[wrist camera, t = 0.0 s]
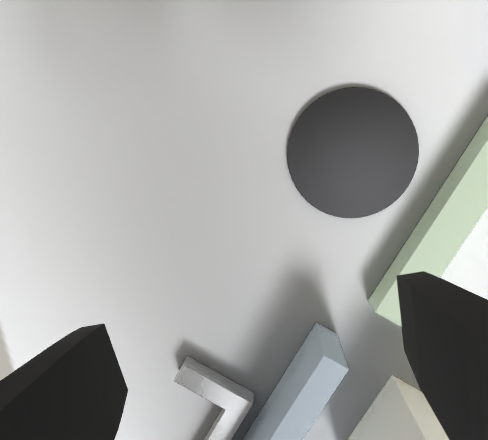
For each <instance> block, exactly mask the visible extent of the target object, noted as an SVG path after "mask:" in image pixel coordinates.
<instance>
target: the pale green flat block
mask: <svg viewBox="0 0 488 440" xmlns="http://www.w3.org/2000/svg"><path fill="white" fill-rule="evenodd" d="M487 207H488V116H487V117H486V119H485V120H484V122H483V123H482V125H481V127H480V128H479V130H478V131H477V133H476V134H475V136H474V137H473V139H472V140H471V142H470V144H469V145H468V147H467V148H466V150H465V151H464V153H463V154H462V156H461V157H460V159H459V161H458V162H457V164H456V165H455V167H454V168H453V170H452V171H451V173H450V174H449V176H448V178H447V179H446V181H445V182H444V184H443V185H442V187H441V188H440V190H439V191H438V193H437V195H436V196H435V198H434V199H433V201H432V202H431V204H430V205H429V207H428V208H427V210H426V212H425V213H424V215H423V216H422V218H421V219H420V221H419V222H418V224H417V226H416V227H415V229H414V230H413V232H412V233H411V235H410V236H409V238H408V239H407V241H406V243H405V244H404V246H403V247H402V249H401V250H400V252H399V253H398V255H397V256H396V258H395V260H394V261H393V263H392V264H391V266H390V267H389V269H388V270H387V272H386V273H385V275H384V277H383V278H382V280H381V281H380V283H379V284H378V286H377V287H376V289H375V290H374V292H373V294H372V295H371V297H370V298H369V300H368V302H369V304H370V305H371V307H372V309H373V310H374V312H375V313H377V314H379V315H381V316H382V317H384V318H386V319H388V320H390V321H391V322H393V323H395V324H397V325H398V326H400V327H402V324H401V314H400V305H399V296H398V286H397V277H396V276H397V275H403V274H409V273H415V272H421V271H424V272H427V273H430V274H432V275H434V276H437V277H439V278H440V277H441V275H442V274H443V272H444V271H445V269H446V268H447V267H448V265H449V264H450V262H451V261H452V259H453V258H454V256H455V255H456V253H457V252H458V250H459V249H460V247H461V246H462V244H463V243H464V241H465V240H466V238H467V237H468V235H469V234H470V232H471V231H472V230H473V228H474V227H475V225H476V224H477V222H478V221H479V219H480V218H481V216H482V215H483V213H484V212H485V210H486V209H487Z"/></svg>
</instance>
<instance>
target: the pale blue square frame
mask: <svg viewBox="0 0 488 440" xmlns="http://www.w3.org/2000/svg"><path fill="white" fill-rule="evenodd" d="M348 370H349V368H348V365H347V362H346V359H345V356H344V353H343V350H342V347H341V344H340V341H339V338H338V336H337V334H336V333H334V332H333V331H331V330H329V329H327V328H325V327H324V326H322V325H320V324H318V323H315V325H314V327H313V328H312V330H311V331H310V333H309V335H308V336H307V338H306V339H305V341H304V343H303V344H302V346H301V347H300V349H299V351H298V352H297V354H296V355H295V357H294V359H293V360H292V362H291V363H290V365H289V366H288V368H287V370H286V371H285V373H284V374H283V376H282V378H281V379H280V381H279V382H278V384H277V386H276V387H275V389H274V390H273V392H272V394H271V395H270V397H269V398H268V400H267V402H266V403H265V405H264V406H263V408H262V410H261V411H260V413H259V414H258V416H257V417H256V419H255V421H254V422H253V424H252V425H251V427H250V429H249V430H248V432H247V433H246V435H245V437H244V438H243V440H303V438H304V437H305V435H306V434H307V432H308V431H309V429H310V428H311V426H312V425H313V423H314V422H315V420H316V419H317V417H318V415H319V414H320V412H321V411H322V409H323V408H324V406H325V405H326V403H327V402H328V400H329V399H330V397H331V396H332V394H333V393H334V391H335V390H336V388H337V387H338V385H339V384H340V382H341V381H342V379H343V378H344V376H345V375H346V373H347V372H348Z"/></svg>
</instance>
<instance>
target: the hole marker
mask: <svg viewBox="0 0 488 440" xmlns="http://www.w3.org/2000/svg"><path fill="white" fill-rule="evenodd" d="M418 156H419V144H418V137H417V133H416V130H415V127H414V125H413V123H412V120H411V119H410V117H409V116H408V114H407V112H406V111H405V110H404V109H403V108H402V107H401V106H400V105H399V104H398V103H397V102H396V101H395V100H393V99H392V98H390V97H389V96H387V95H385V94H383V93H381V92H379V91H375V90H372V89H367V88H358V87H352V88H344V89H339V90H336V91H333V92H330V93H328V94H326V95H324V96H322V97H320V98H319V99H317V100H316V101H314V102H313V103H312V104H311V105H310V106H309V107H308V108H307V109H306V110H305V111H304V112H303V113H302V114H301V116H300V117H299V119H298V120H297V122H296V124H295V126H294V128H293V130H292V133H291V136H290V139H289V144H288V152H287V159H288V167H289V172H290V175H291V178H292V180H293V182H294V184H295V186H296V188H297V190H298V191H299V192H300V194H301V195H302V196H303V197H304V198H305V200H306V201H308V202H309V203H310V204H311V205H312V206H314V207H315V208H317V209H318V210H320V211H322V212H324V213H327V214H330V215H333V216H337V217H342V218H359V217H364V216H369V215H372V214H375V213H377V212H379V211H381V210H383V209H385V208H386V207H388V206H390V205H391V204H392V203H393V202H395V201H396V200H397V199H398V198H399V197H400V196H401V195H402V194H403V193H404V191H405V190H406V188H407V187H408V186H409V184H410V182H411V180H412V178H413V176H414V173H415V171H416V167H417V163H418Z"/></svg>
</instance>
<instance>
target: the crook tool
mask: <svg viewBox="0 0 488 440" xmlns="http://www.w3.org/2000/svg"><path fill="white" fill-rule="evenodd" d="M174 381H175V382H177V383H178V384H180V385H182V386H184V387H186V388H187V389H189V390H191V391H193V392H195V393H196V394H198V395H200V396H202V397H204V398H205V399H207V400H209V401H211V402H213V403H214V404H216V405H218V406H220V407H222V410H221V411H220V413H219V415H218V416H217V418H216V420H215V421H214V423H213V425H212V426H211V428H210V430H209V431H208V433H207V434H206V436H205V438H204V439H203V440H231V439H232V437H233V435H234V434H235V432H236V431H237V429H238V427H239V426H240V424H241V423H242V421H243V419H244V418H245V416H246V415H247V413H248V411H249V410H250V408H251V406H252V405H253V399H254V392H252V391H250V390H248V389H246V388H245V387H243V386H241V385H239V384H237V383H236V382H234V381H232V380H230V379H228V378H227V377H225V376H223V375H221V374H219V373H218V372H216V371H214V370H212V369H210V368H209V367H207V366H205V365H203V364H201V363H200V362H198V361H196V360H194V359H192V358H191V357H189V356H187V357H186V359H185V361H184V362H183V364H182V366H181V368H180V369H179V371H178V374H177V376H176V378H175V380H174Z"/></svg>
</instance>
